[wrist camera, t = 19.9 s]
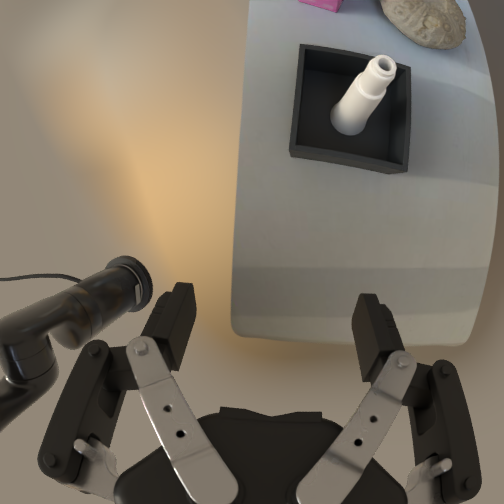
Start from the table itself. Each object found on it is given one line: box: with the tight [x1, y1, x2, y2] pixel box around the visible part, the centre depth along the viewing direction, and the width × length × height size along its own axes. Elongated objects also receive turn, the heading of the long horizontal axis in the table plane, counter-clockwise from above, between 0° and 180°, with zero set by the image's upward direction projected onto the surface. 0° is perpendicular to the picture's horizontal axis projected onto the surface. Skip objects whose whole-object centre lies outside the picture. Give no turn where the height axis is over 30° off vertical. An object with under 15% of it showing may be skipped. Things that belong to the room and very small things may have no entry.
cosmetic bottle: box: [330, 55, 397, 136], centre depth 29 cm, size 6×6×22 cm
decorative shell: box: [380, 0, 466, 49], centre depth 27 cm, size 18×18×10 cm
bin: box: [289, 44, 411, 174], centre depth 36 cm, size 17×17×9 cm
